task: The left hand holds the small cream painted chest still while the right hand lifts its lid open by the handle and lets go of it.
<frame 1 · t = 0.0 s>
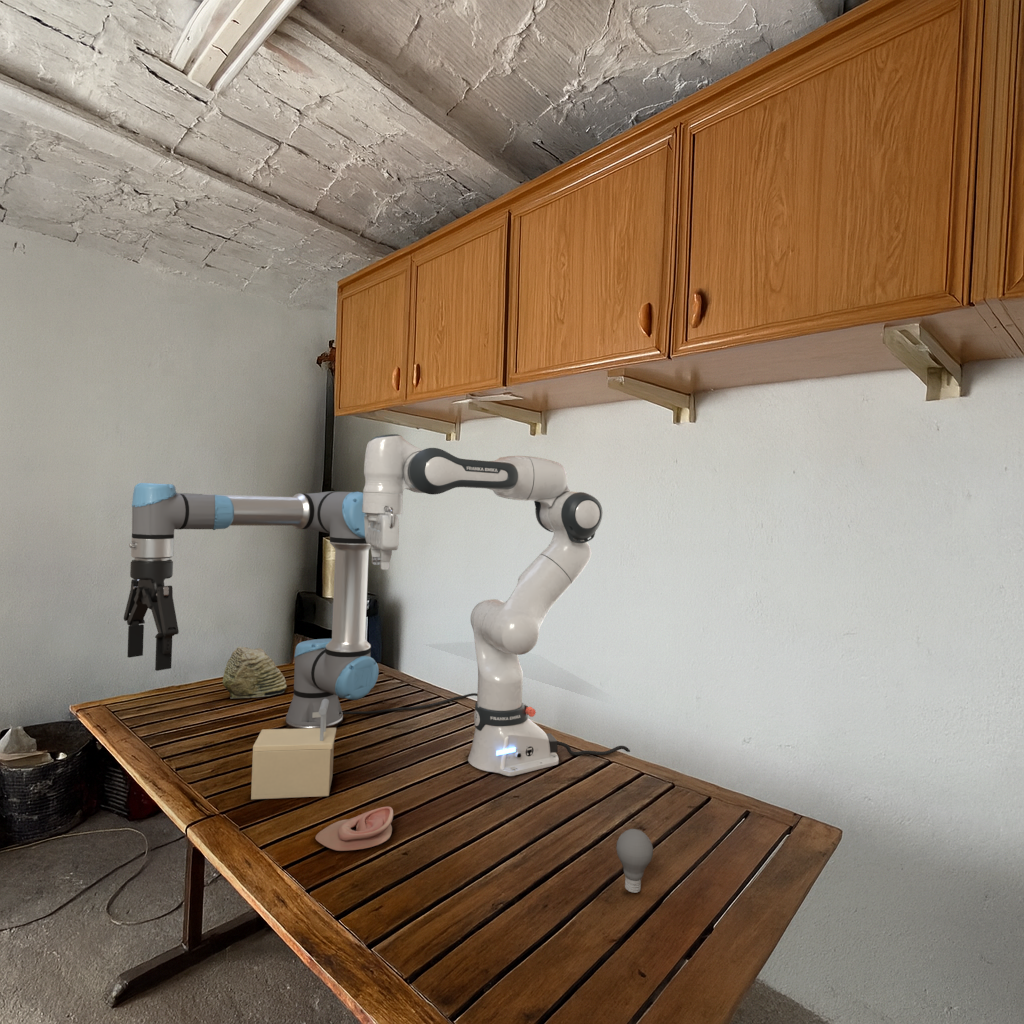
left hand: (148, 662, 129), 28 cm above the table, tool pointing down, fingers open, 13 cm apart
right hand: (380, 567, 143), 48 cm above the table, tool pointing down, fingers open, 8 cm apart
chest: (293, 787, 137), on the table
lid: (297, 722, 137), point 14 cm above the table, hinge at 0.0°
fossil: (254, 694, 198), on the table
light bulb: (632, 891, 106), on the table
anatomical model: (354, 836, 119), on the table
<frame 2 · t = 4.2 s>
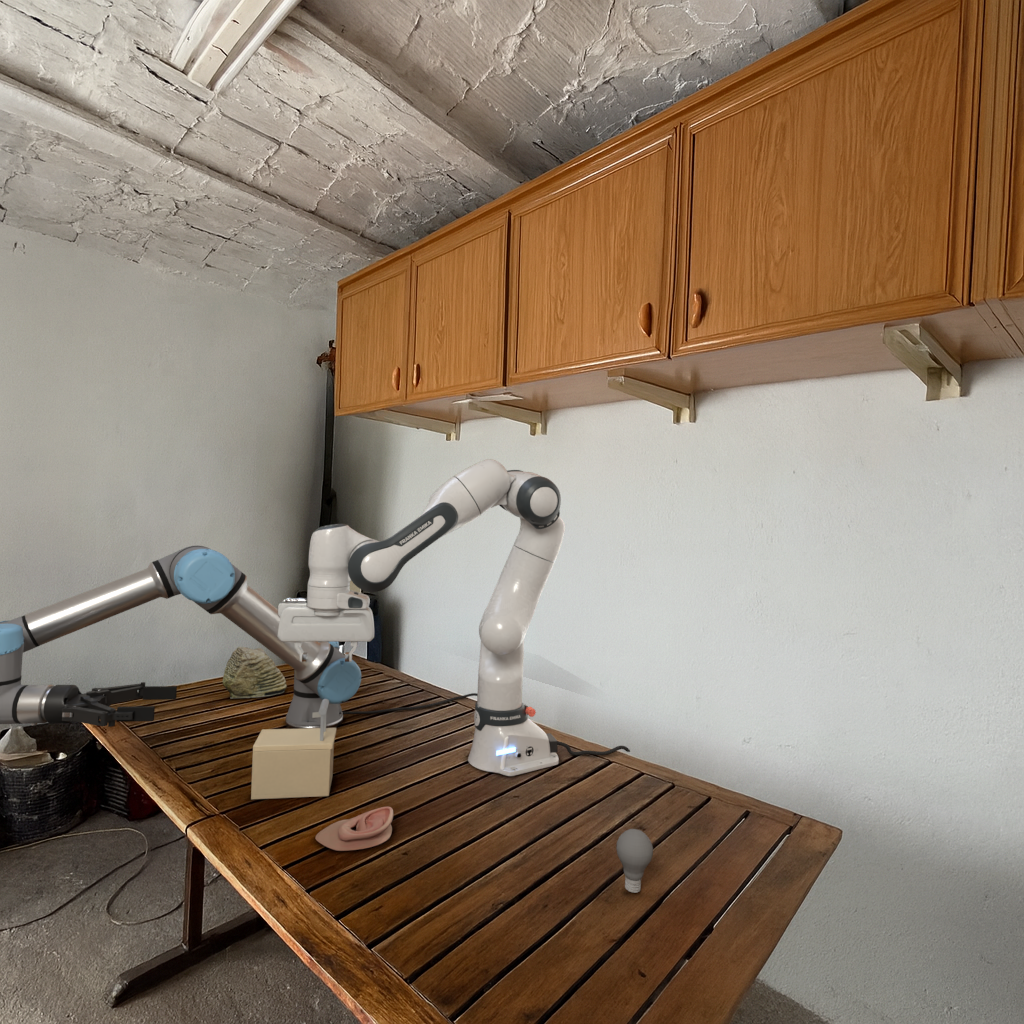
left hand: (165, 702, 132), 19 cm above the table, tool horizontal, fingers open, 13 cm apart
right hand: (326, 661, 138), 27 cm above the table, tool pointing down, fingers open, 8 cm apart
nothing on the table moved.
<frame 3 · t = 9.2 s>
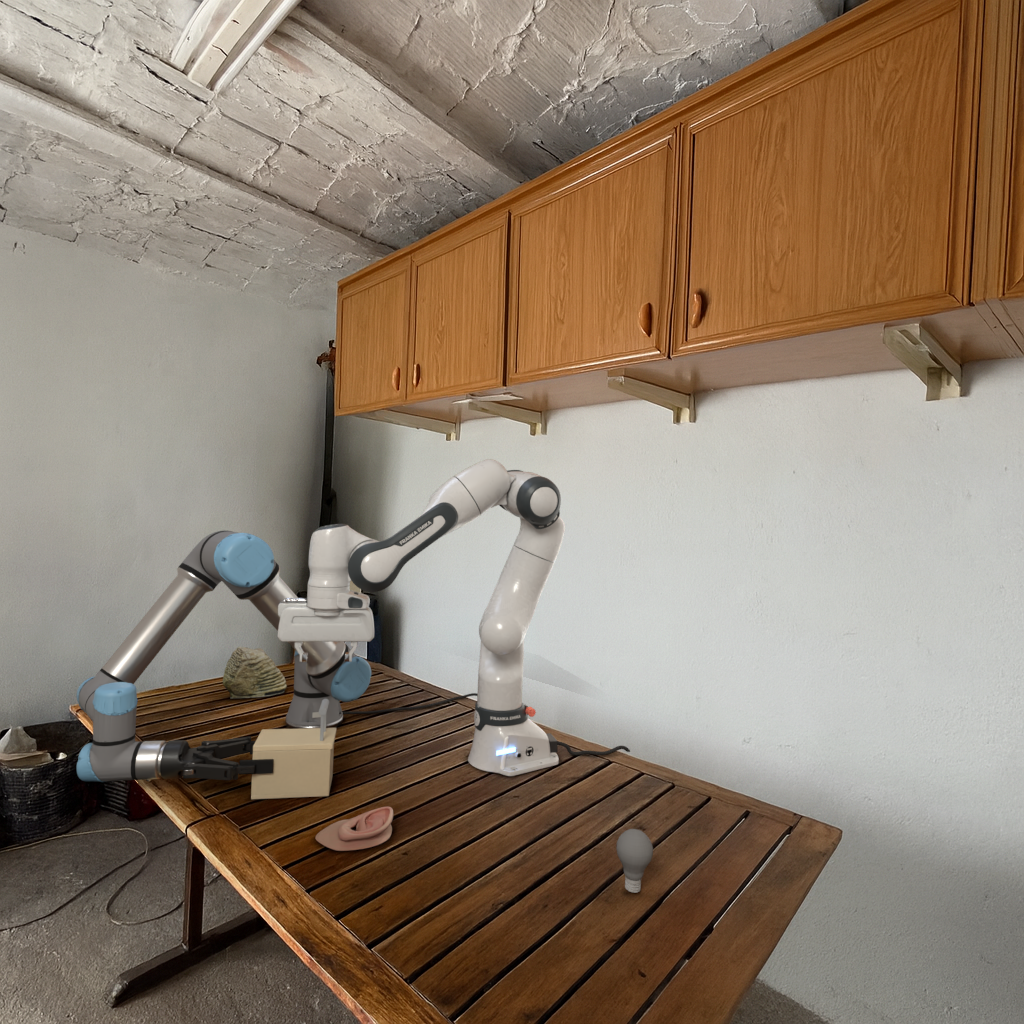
left hand: (277, 756, 137), 7 cm above the table, tool horizontal, fingers closed on chest, 10 cm apart
right hand: (326, 661, 138), 27 cm above the table, tool pointing down, fingers open, 8 cm apart
chest: (293, 787, 137), on the table, touching left hand
everything else where it was.
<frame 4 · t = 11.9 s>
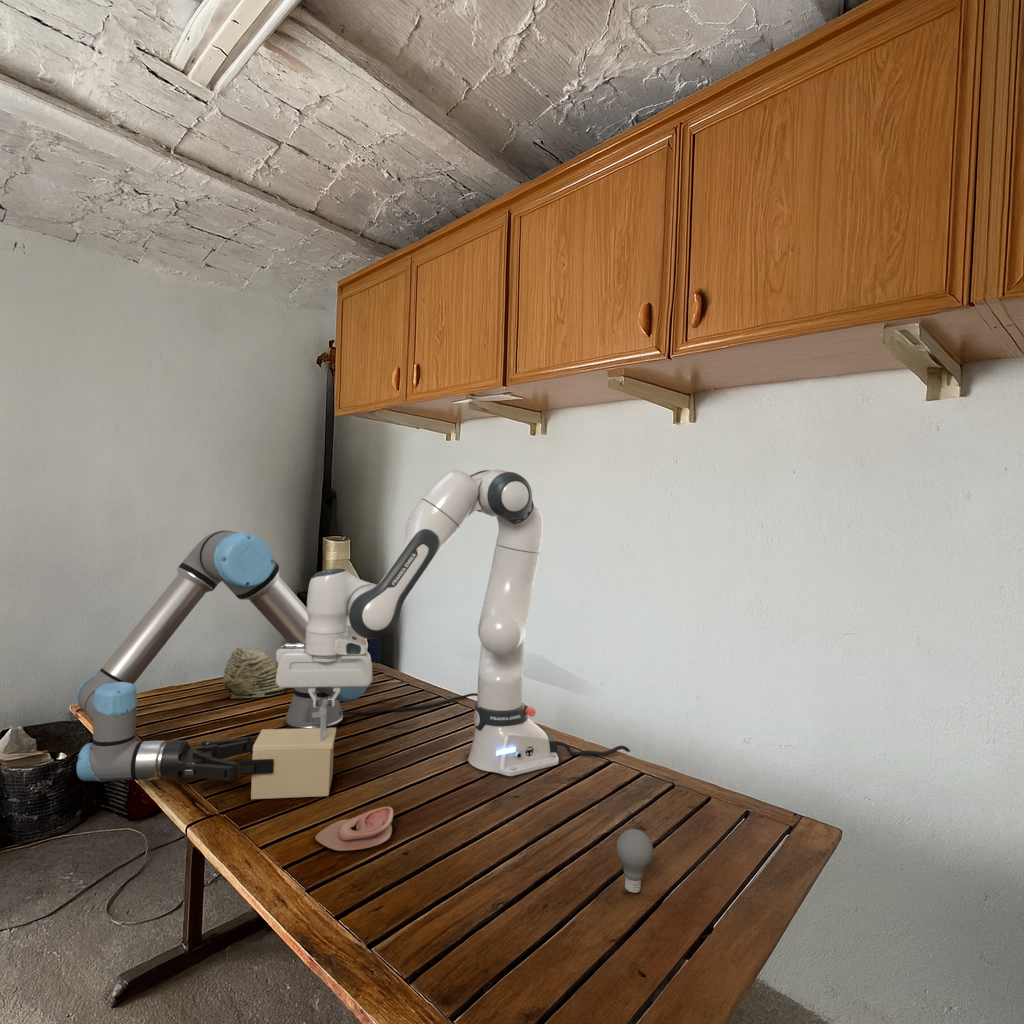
left hand: (277, 756, 137), 7 cm above the table, tool horizontal, fingers closed on chest, 10 cm apart
right hand: (324, 706, 138), 18 cm above the table, tool pointing down, fingers closed on lid, 2 cm apart
chest: (293, 787, 137), on the table, touching left hand
lid: (297, 722, 137), point 14 cm above the table, hinge at 0.0°, touching right hand
everything else where it was.
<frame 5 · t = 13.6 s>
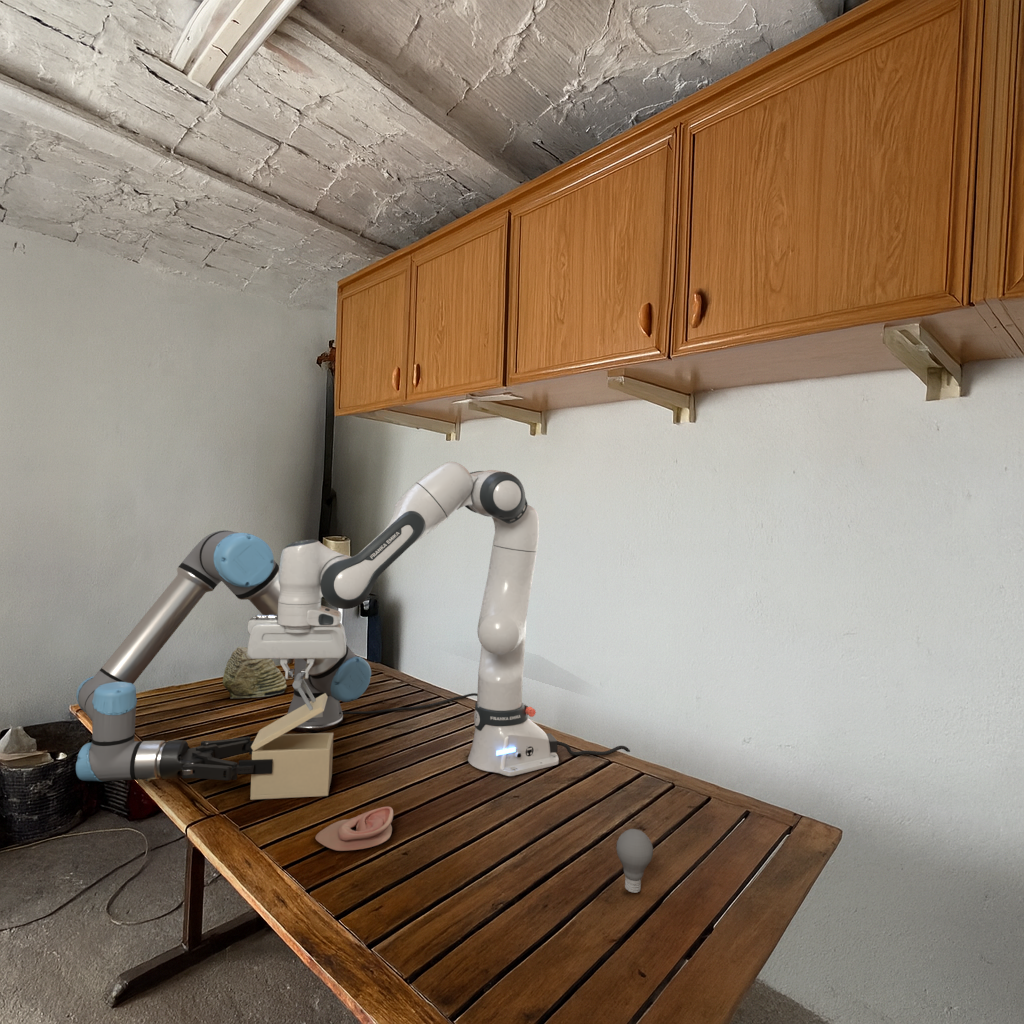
left hand: (276, 756, 137), 7 cm above the table, tool horizontal, fingers closed on chest, 10 cm apart
right hand: (297, 678, 137), 24 cm above the table, tool pointing down, fingers closed
chest: (292, 787, 137), on the table, touching left hand
lid: (282, 706, 137), point 18 cm above the table, hinge at 30.4°, touching right hand
everything else where it was.
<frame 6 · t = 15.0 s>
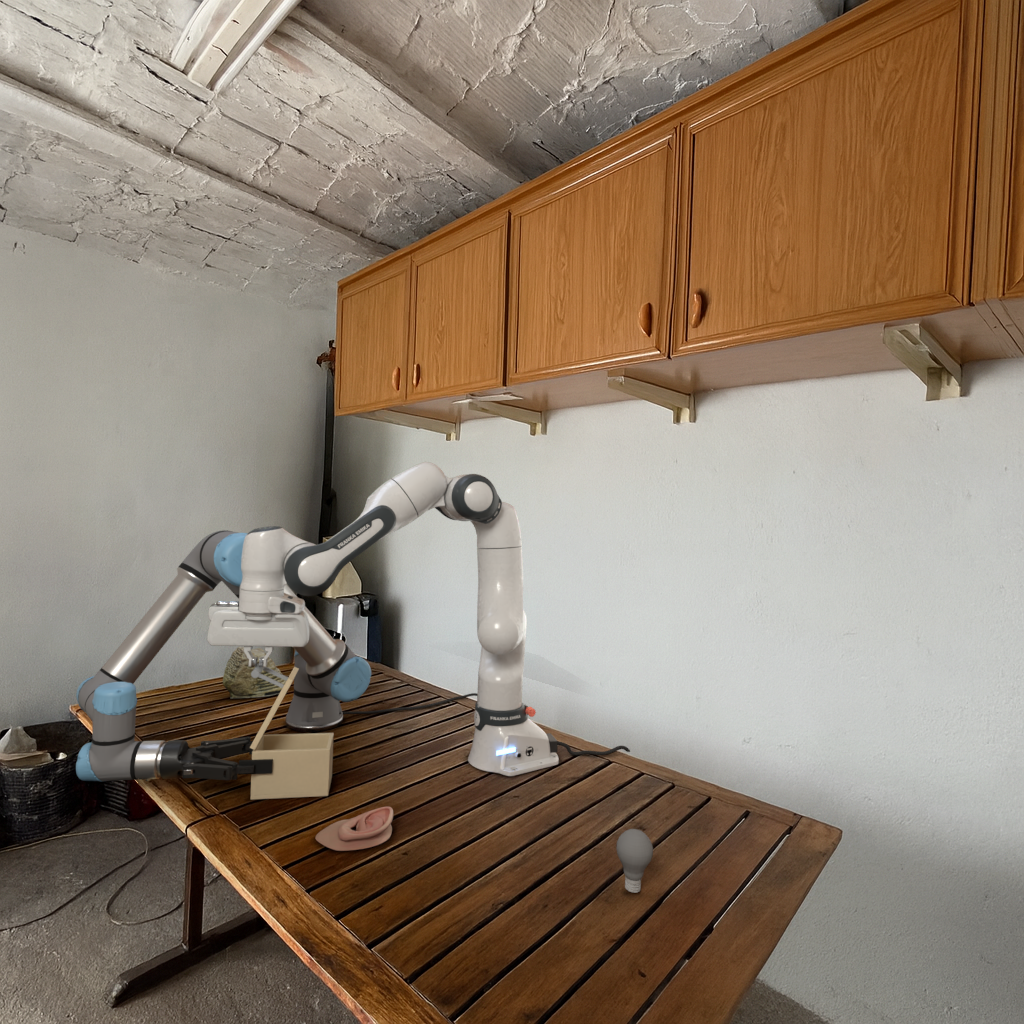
left hand: (276, 756, 137), 7 cm above the table, tool horizontal, fingers closed on chest, 10 cm apart
right hand: (257, 666, 135), 27 cm above the table, tool pointing down, fingers closed, pressing on lid
chest: (293, 787, 137), on the table, touching left hand
lid: (259, 699, 136), point 19 cm above the table, hinge at 63.7°, touching right hand
everything else where it was.
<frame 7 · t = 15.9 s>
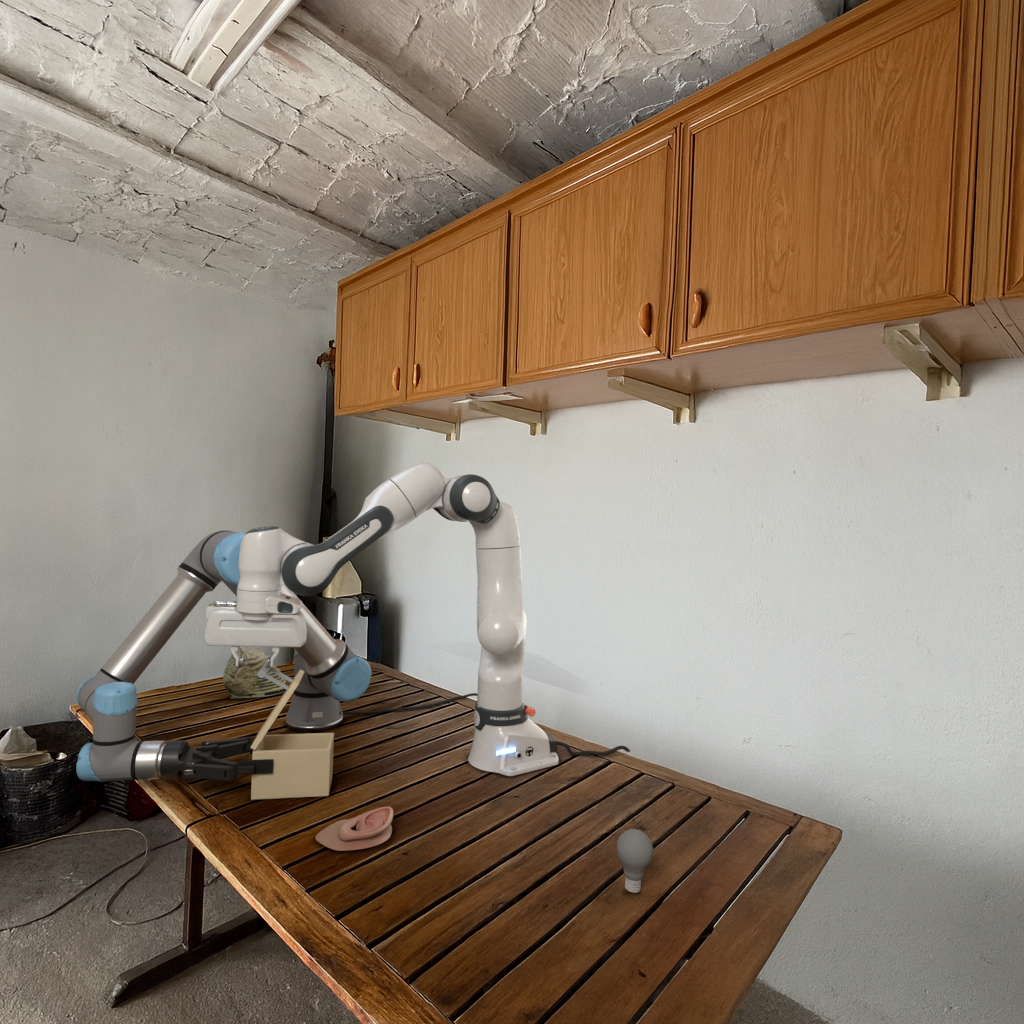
left hand: (277, 756, 137), 7 cm above the table, tool horizontal, fingers closed on chest, 10 cm apart
right hand: (255, 666, 135), 26 cm above the table, tool pointing down, fingers open, 5 cm apart
chest: (293, 787, 137), on the table, touching left hand
lid: (263, 699, 136), point 19 cm above the table, hinge at 59.0°, touching right hand
everything else where it was.
when the left hand's fingers open (7 cm above the table, at t = 19.5 s): chest stays where it is, on the table.
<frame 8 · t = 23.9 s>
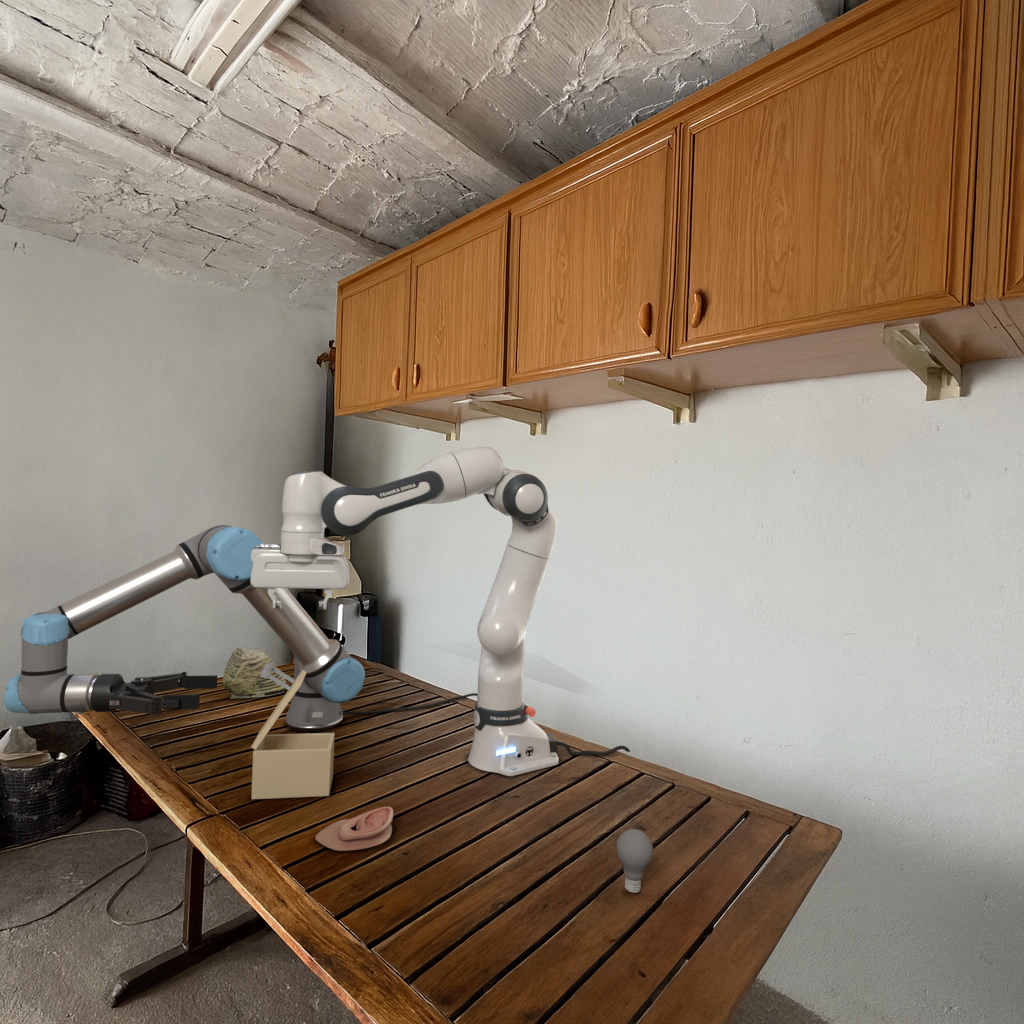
left hand: (208, 691, 134), 21 cm above the table, tool horizontal, fingers open, 13 cm apart
right hand: (299, 608, 137), 39 cm above the table, tool pointing down, fingers open, 8 cm apart
chest: (293, 787, 137), on the table
lid: (265, 699, 136), point 19 cm above the table, hinge at 57.7°
everything else where it was.
at the end: lid at +58° (first picture: +0°); the left hand is holding nothing; the right hand is holding nothing; chest tilted 0°; chest never tilted more than 1° during the clip; chest moved 0.1 cm from its start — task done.
